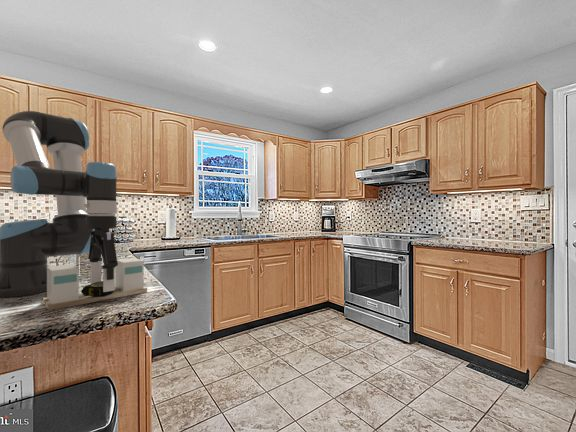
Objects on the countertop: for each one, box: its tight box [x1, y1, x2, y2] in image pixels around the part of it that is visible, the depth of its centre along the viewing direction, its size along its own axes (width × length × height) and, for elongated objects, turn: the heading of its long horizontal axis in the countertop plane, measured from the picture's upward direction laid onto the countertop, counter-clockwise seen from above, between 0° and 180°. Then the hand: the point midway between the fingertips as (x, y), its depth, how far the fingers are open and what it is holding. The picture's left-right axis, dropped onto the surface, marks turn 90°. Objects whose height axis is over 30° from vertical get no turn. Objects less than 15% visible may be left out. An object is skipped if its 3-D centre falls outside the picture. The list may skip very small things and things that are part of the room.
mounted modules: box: [46, 257, 145, 304], centre depth 89 cm, size 8×24×9 cm, turn 137°
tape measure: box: [80, 280, 114, 297], centre depth 86 cm, size 7×7×4 cm
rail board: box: [42, 286, 148, 311], centre depth 89 cm, size 10×25×2 cm, turn 136°
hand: (102, 286), depth 87 cm, fingers open, 13 cm apart
